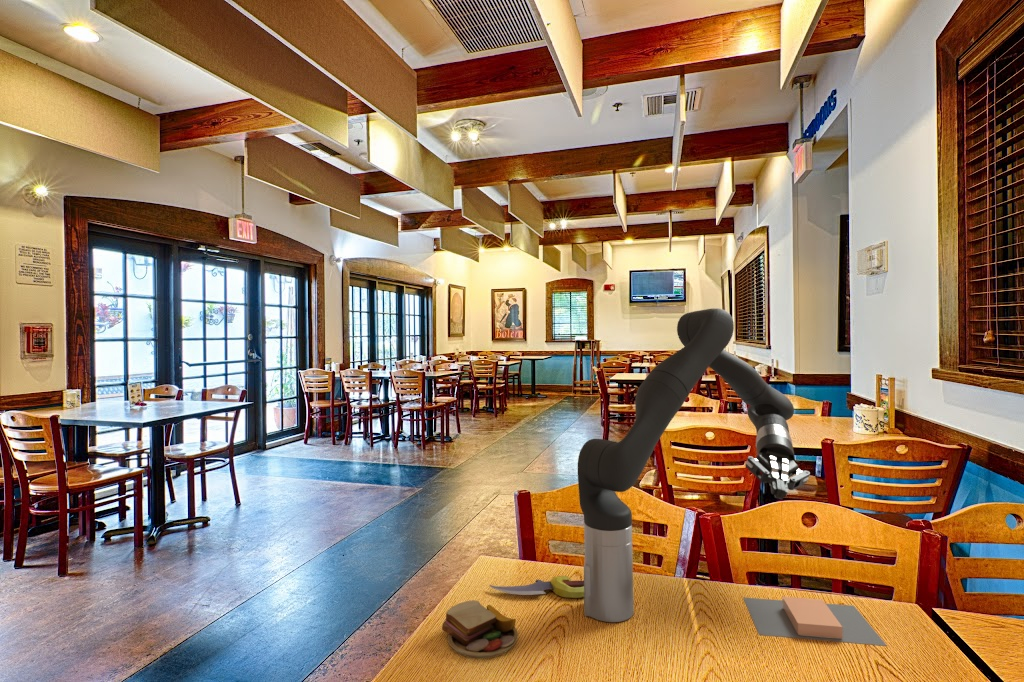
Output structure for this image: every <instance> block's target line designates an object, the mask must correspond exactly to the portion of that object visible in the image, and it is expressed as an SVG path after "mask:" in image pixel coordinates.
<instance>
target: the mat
mask: <svg viewBox="0 0 1024 682" xmlns="http://www.w3.org/2000/svg"><path fill="white" fill-rule="evenodd" d="M742 599H743V601H744V603H745V605H746V608H747V611H748V612H749V615H750V616H751V620H752V622H753V624H754V626H755V628H756V631H757V634H758V635H759V636H765V637H767V636H768V637H780V638H788V639H789V638H790V639H799V640H800V639H801V640H812V641H813V640H814V641H822V642H823V641H824V642H835V643H847V644H856V645H857V644H859V645H872V646H880V647H881V646H884V647H888V645H887V643H885V642H884V640H883V639H882V637H881V636H880V635H879V634H878V633H877V632H876V630H875V629H874V628H873V626H872V625H871V624H870V623H869V622H868V621H867V620H866V618H865V617H864V616H863V614H861V612H860V611H859V610H858V609H857V608H856V606H855V605H851V604H850V605H849V604H836V603H825V604H826V605H827V606H828V608H829V609H830V610H831V612H832V613H833V615H834V616H835V617H836V619H837V620H838V621H839V623H840V624H841V626H842V628H843V639H842V638H841V639H836V638H824V637H813V636H801V635H798V633H797V632H796V630H795V628H794V626H793V625H792V623H791V621H790V619H789V617H788V616H787V614H786V612H785V610H784V609H783V602H782V599H771V598H770V599H769V598H757V597H742Z"/></svg>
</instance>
